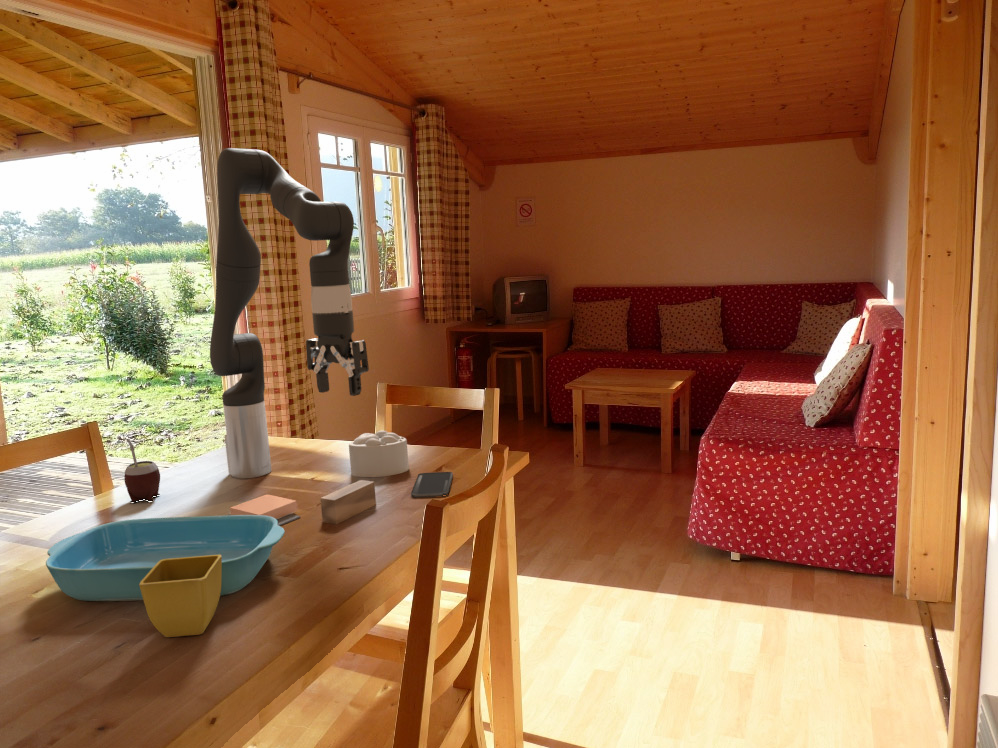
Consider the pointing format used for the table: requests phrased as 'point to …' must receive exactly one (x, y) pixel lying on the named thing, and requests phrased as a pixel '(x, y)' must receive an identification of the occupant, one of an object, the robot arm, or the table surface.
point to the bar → (348, 501)
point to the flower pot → (182, 594)
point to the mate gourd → (141, 478)
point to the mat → (286, 519)
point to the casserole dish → (159, 552)
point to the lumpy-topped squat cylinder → (378, 455)
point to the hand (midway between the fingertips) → (339, 393)
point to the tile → (266, 507)
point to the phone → (432, 484)
